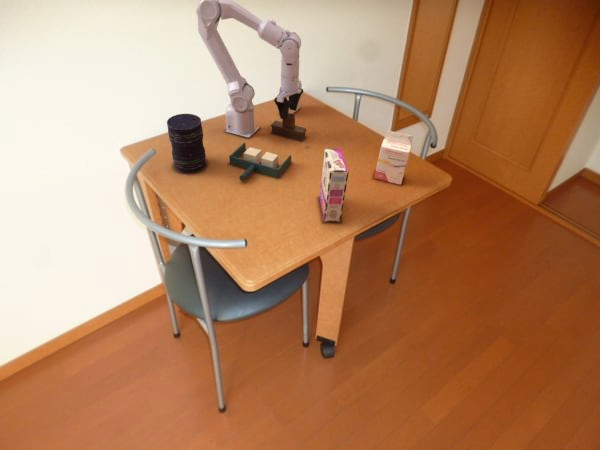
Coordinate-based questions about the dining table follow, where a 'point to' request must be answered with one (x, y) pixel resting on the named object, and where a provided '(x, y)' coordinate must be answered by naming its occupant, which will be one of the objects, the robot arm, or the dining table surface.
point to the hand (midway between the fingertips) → (288, 114)
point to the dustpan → (255, 165)
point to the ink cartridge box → (393, 157)
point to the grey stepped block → (288, 128)
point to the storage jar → (187, 143)
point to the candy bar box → (333, 185)
